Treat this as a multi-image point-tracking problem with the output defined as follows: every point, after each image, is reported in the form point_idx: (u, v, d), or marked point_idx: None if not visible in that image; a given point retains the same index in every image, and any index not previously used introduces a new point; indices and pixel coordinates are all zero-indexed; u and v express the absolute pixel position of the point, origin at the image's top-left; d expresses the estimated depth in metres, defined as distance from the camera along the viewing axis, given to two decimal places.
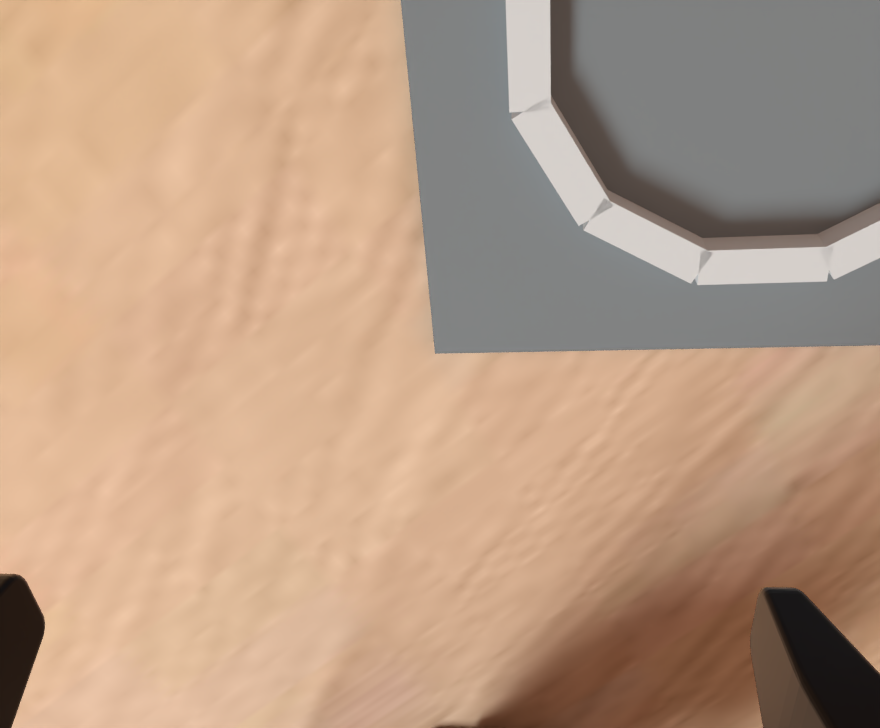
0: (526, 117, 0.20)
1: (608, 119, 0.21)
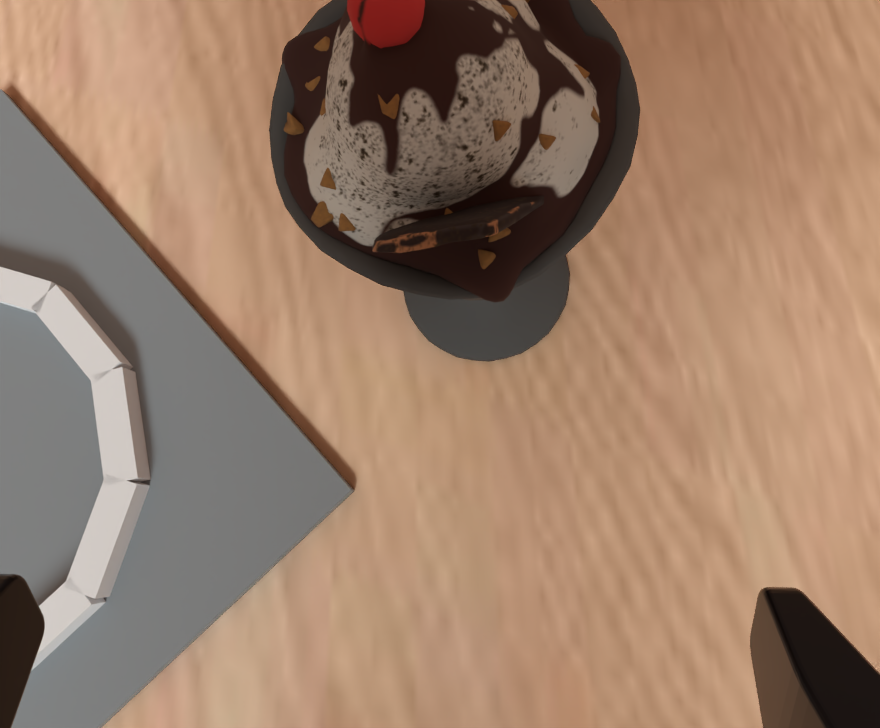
0: None
1: None
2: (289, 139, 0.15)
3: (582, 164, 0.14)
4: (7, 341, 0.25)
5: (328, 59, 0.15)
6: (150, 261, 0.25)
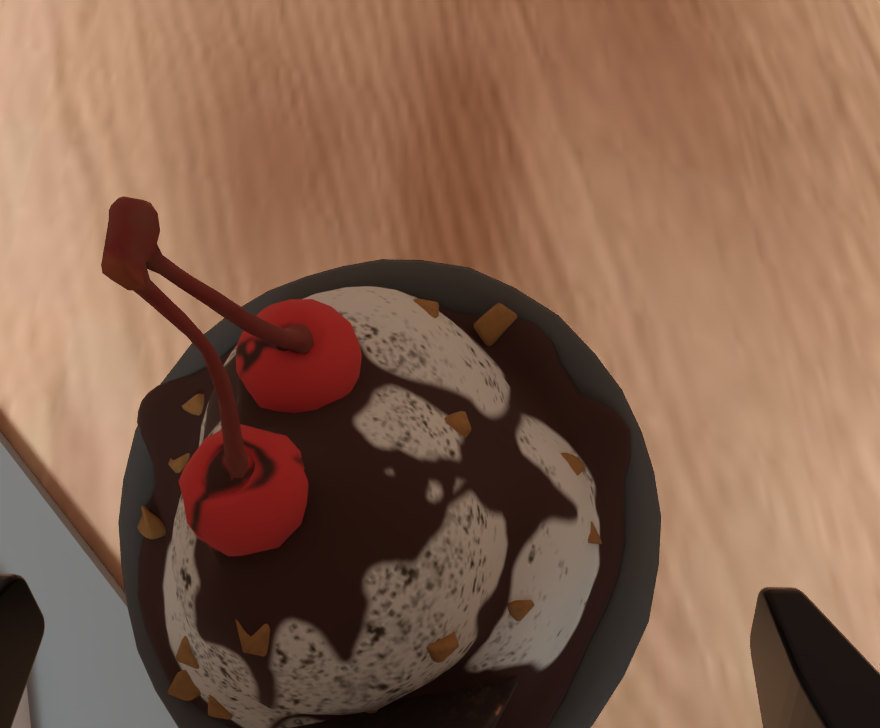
0: None
1: None
2: (145, 544, 0.10)
3: (576, 615, 0.09)
4: None
5: (201, 429, 0.10)
6: (45, 502, 0.21)
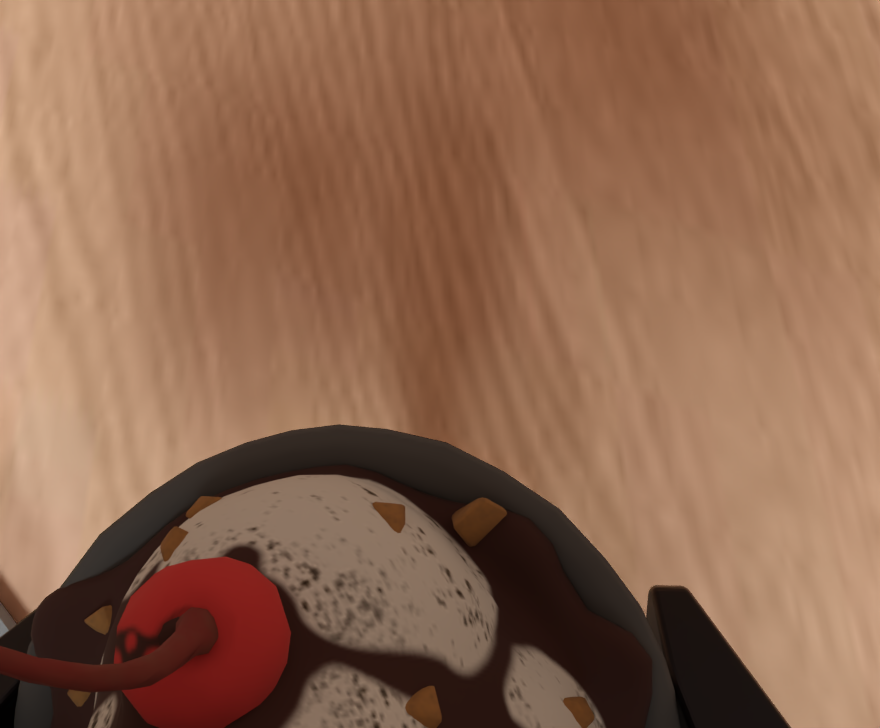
0: None
1: None
2: None
3: None
4: None
5: None
6: None
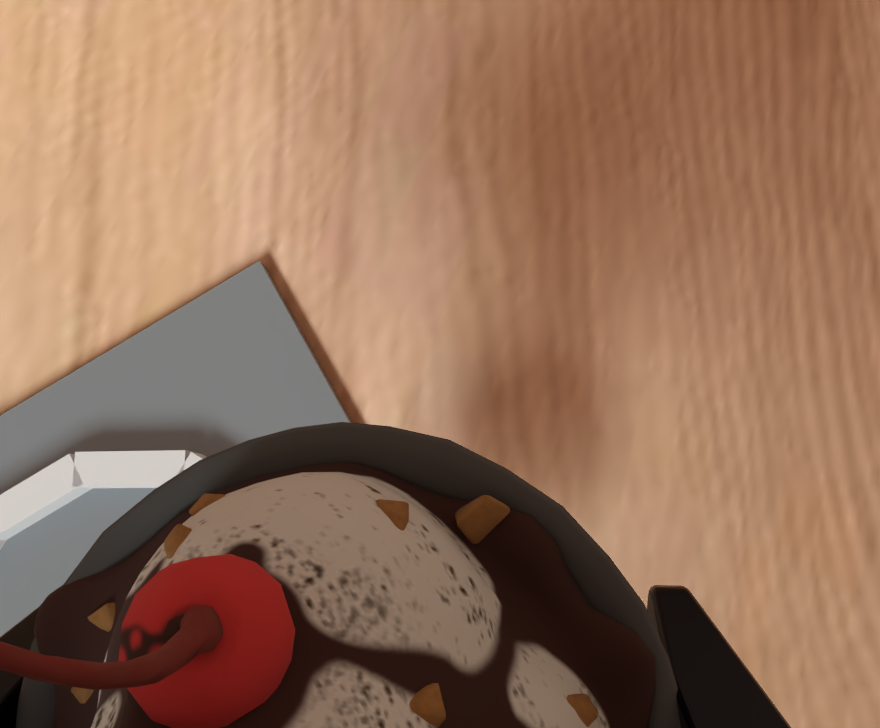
0: None
1: None
2: None
3: None
4: None
5: None
6: None
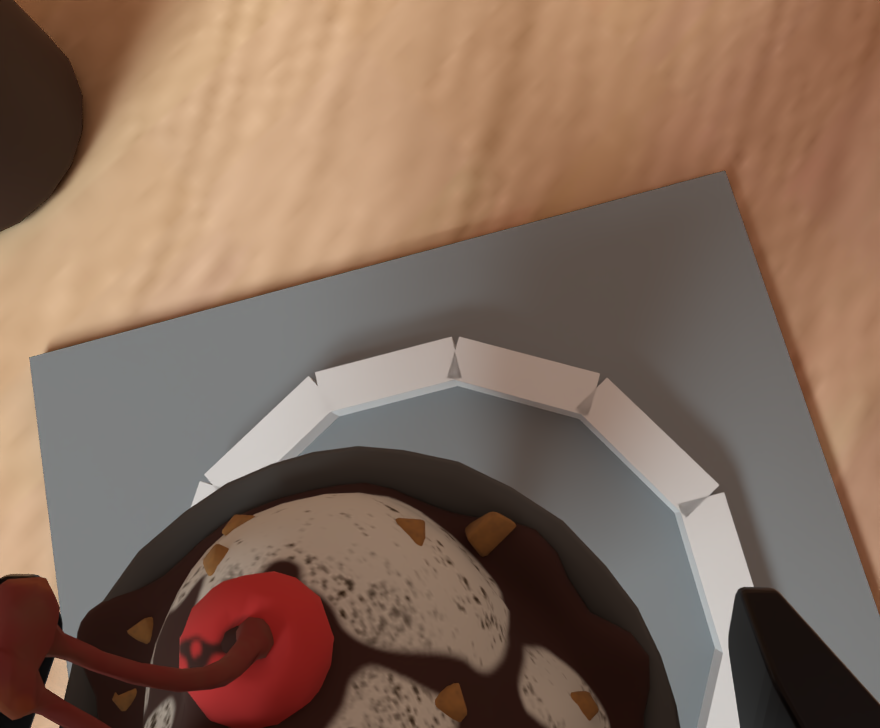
0: None
1: None
2: None
3: None
4: (605, 512, 0.19)
5: (150, 661, 0.09)
6: (843, 514, 0.18)
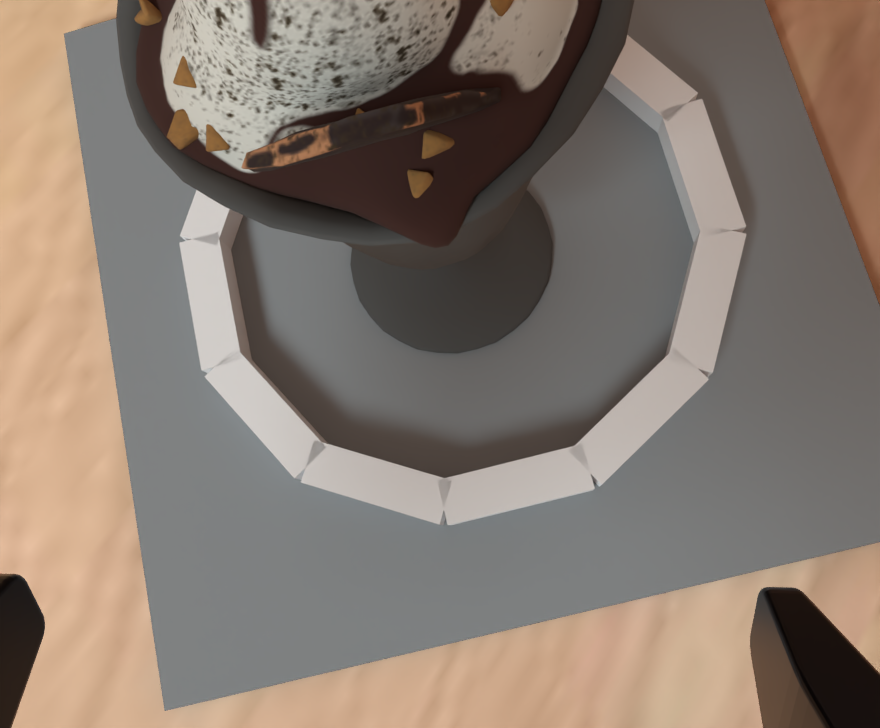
0: (218, 371, 0.19)
1: (313, 372, 0.20)
2: (142, 31, 0.11)
3: (556, 44, 0.10)
4: (594, 135, 0.20)
5: None
6: (811, 126, 0.20)
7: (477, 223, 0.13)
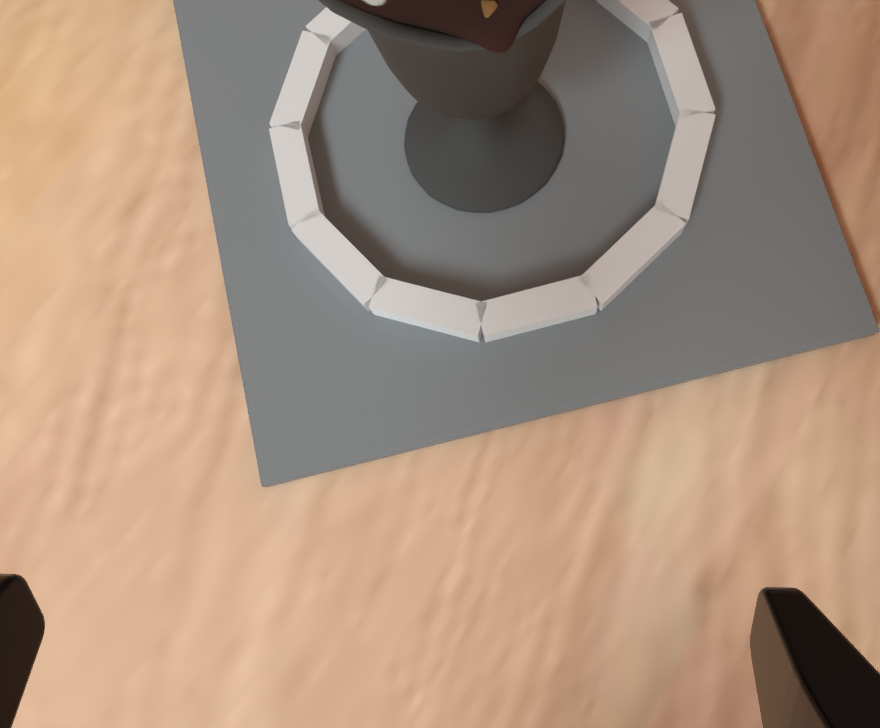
0: (302, 225, 0.25)
1: (375, 229, 0.25)
2: None
3: None
4: (597, 45, 0.26)
5: None
6: (767, 36, 0.25)
7: (517, 67, 0.18)
